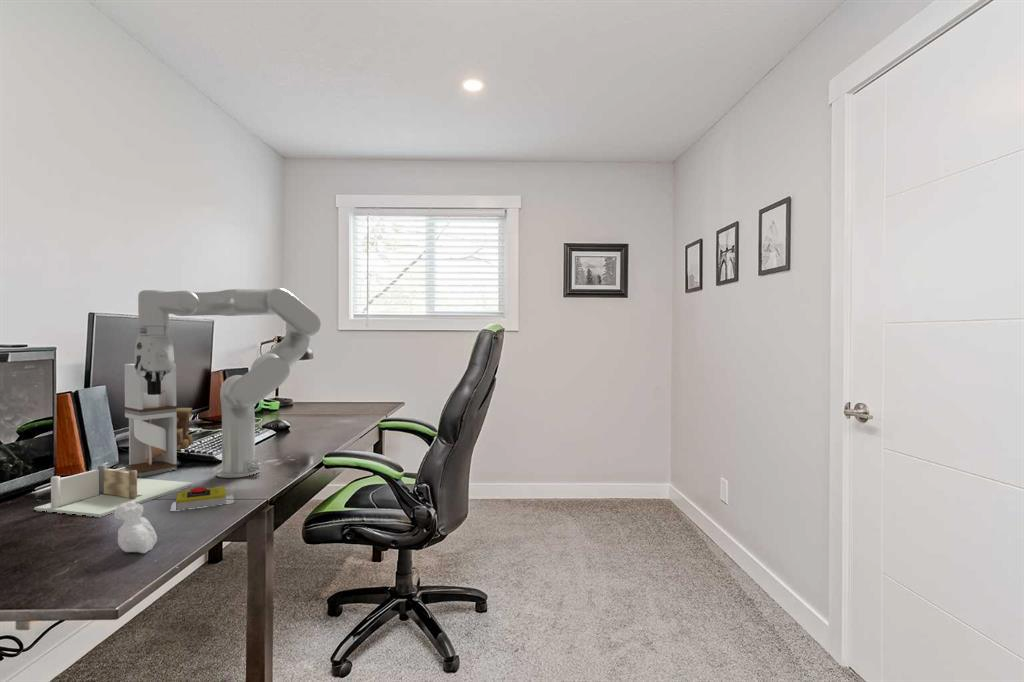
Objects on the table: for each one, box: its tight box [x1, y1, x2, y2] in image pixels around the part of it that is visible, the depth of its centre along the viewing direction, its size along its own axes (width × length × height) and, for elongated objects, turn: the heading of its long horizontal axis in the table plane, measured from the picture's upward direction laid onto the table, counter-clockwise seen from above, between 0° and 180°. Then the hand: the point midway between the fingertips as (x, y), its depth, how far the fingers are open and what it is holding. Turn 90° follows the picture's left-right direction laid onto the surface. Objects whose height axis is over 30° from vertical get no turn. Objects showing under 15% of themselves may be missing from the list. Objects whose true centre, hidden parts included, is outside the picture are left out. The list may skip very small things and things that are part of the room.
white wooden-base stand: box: [124, 363, 178, 478], centre depth 180 cm, size 11×11×35 cm
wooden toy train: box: [176, 407, 194, 450], centre depth 201 cm, size 20×11×17 cm, turn 24°
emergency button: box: [175, 486, 227, 511], centre depth 147 cm, size 9×4×15 cm
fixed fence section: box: [50, 464, 108, 508], centre depth 146 cm, size 14×2×8 cm, turn 167°
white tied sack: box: [113, 501, 158, 554], centre depth 115 cm, size 12×8×11 cm
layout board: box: [33, 477, 195, 518], centre depth 151 cm, size 21×29×1 cm
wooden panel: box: [104, 468, 138, 498], centre depth 149 cm, size 12×2×7 cm, turn 69°
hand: (154, 394), depth 162 cm, fingers closed
